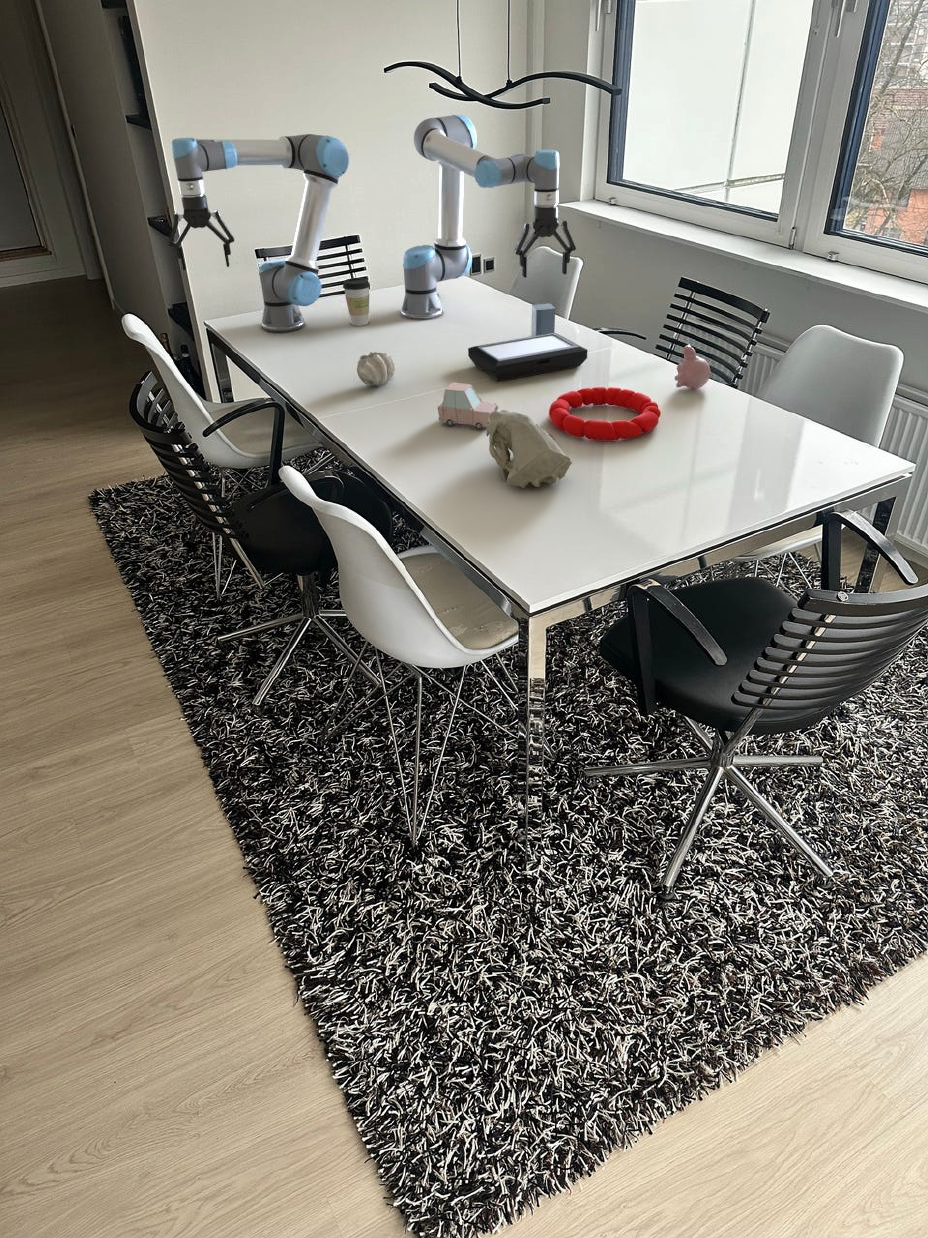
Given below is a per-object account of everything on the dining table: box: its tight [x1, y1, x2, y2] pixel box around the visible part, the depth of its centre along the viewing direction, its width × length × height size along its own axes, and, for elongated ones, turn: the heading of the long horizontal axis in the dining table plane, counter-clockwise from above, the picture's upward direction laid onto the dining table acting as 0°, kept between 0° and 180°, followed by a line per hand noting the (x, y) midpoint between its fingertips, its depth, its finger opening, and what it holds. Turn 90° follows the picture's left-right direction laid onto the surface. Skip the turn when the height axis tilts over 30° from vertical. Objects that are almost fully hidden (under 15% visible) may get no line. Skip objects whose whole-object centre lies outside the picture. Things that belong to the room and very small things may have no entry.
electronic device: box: [467, 332, 588, 382], centre depth 281 cm, size 32×6×20 cm
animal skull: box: [485, 409, 573, 489], centre depth 216 cm, size 17×25×20 cm
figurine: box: [674, 344, 711, 390], centre depth 259 cm, size 9×11×12 cm
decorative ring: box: [548, 386, 661, 442], centre depth 242 cm, size 7×30×30 cm
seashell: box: [356, 351, 396, 386], centre depth 270 cm, size 10×15×10 cm
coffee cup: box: [342, 277, 371, 327], centre depth 323 cm, size 10×10×15 cm
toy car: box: [437, 382, 499, 431], centre depth 243 cm, size 9×15×10 cm, turn 70°
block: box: [530, 303, 556, 337], centre depth 303 cm, size 7×6×11 cm
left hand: (206, 267), depth 285 cm, fingers open, 13 cm apart
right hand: (544, 274), depth 294 cm, fingers open, 13 cm apart
